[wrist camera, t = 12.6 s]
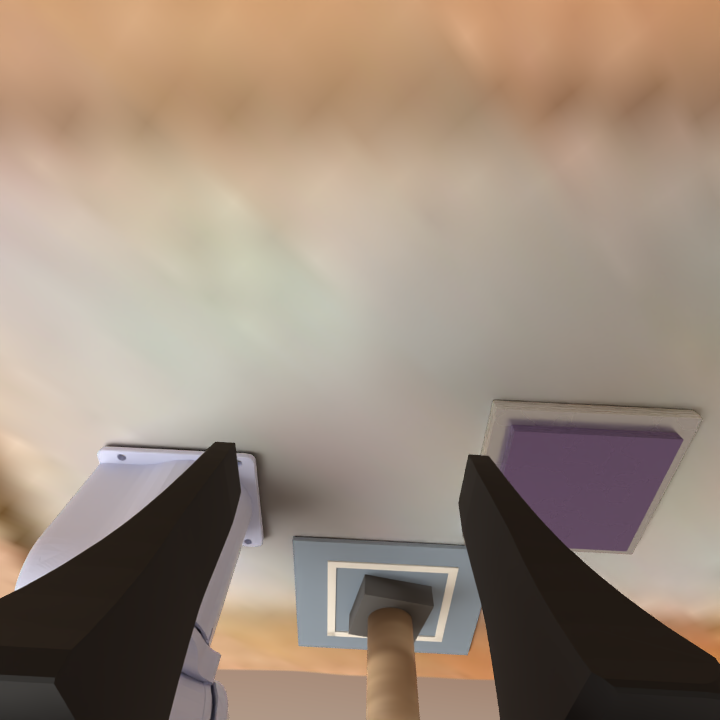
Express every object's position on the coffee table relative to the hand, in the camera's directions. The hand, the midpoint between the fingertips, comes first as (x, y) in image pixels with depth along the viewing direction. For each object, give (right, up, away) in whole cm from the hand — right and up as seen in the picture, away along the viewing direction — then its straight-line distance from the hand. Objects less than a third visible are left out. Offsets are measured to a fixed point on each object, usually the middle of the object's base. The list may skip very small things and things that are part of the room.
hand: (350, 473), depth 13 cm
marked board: (+2, -15, +19) cm, 24 cm away
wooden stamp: (+2, -15, +19) cm, 24 cm away
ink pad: (+13, -4, +13) cm, 19 cm away
